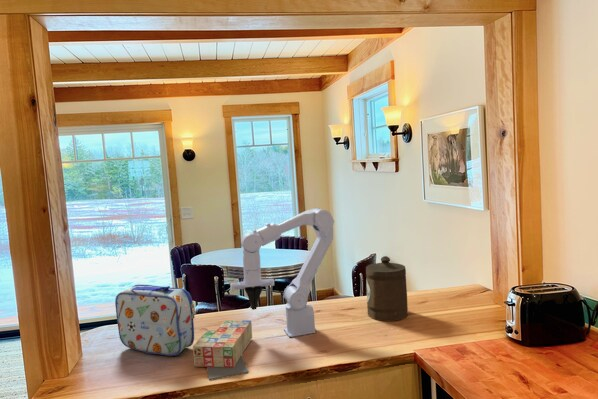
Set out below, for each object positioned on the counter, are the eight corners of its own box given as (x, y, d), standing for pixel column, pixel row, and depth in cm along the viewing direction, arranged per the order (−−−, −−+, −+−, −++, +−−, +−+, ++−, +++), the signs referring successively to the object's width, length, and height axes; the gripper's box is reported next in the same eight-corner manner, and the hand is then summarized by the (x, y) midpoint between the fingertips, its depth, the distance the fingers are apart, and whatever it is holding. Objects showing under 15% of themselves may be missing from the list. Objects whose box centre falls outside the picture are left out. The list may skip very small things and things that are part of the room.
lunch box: (203, 347, 145) (198, 281, 143) (184, 361, 135) (179, 291, 133) (137, 339, 155) (132, 277, 153) (115, 351, 145) (109, 286, 143)
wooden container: (378, 305, 176) (375, 251, 174) (413, 311, 167) (411, 254, 165) (360, 317, 164) (358, 259, 162) (398, 324, 155) (395, 262, 154)
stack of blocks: (253, 338, 149) (218, 337, 151) (251, 320, 148) (217, 319, 151) (233, 367, 128) (193, 366, 130) (232, 346, 127) (191, 346, 130)
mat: (235, 341, 148) (235, 339, 148) (248, 372, 125) (248, 371, 125) (202, 346, 145) (202, 345, 145) (209, 380, 122) (209, 378, 122)
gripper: (270, 264, 154) (271, 302, 155) (228, 268, 149) (230, 307, 150) (275, 268, 147) (276, 308, 148) (231, 273, 143) (233, 314, 144)
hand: (253, 308), depth 149 cm, fingers closed
